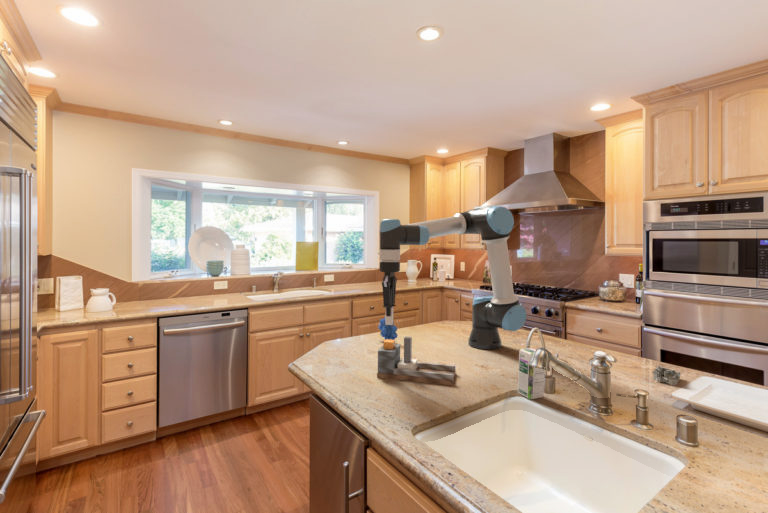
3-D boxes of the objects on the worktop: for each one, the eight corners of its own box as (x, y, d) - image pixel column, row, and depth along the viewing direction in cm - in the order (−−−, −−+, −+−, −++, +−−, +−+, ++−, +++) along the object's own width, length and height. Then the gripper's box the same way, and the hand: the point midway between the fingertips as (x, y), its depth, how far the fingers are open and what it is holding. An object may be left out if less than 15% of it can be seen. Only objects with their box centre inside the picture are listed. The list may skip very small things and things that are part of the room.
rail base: (455, 373, 140) (455, 348, 140) (452, 385, 129) (452, 358, 128) (385, 366, 148) (385, 342, 147) (376, 377, 136) (377, 351, 136)
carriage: (417, 367, 142) (417, 335, 141) (413, 373, 135) (414, 340, 134) (401, 365, 143) (402, 334, 143) (397, 372, 137) (397, 339, 136)
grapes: (372, 341, 184) (373, 316, 184) (382, 338, 189) (382, 314, 189) (391, 345, 176) (391, 320, 176) (400, 342, 182) (400, 318, 181)
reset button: (395, 347, 142) (395, 340, 142) (392, 350, 139) (392, 342, 138) (386, 347, 143) (386, 339, 143) (383, 349, 139) (383, 341, 139)
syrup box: (517, 393, 123) (518, 349, 122) (531, 390, 125) (532, 347, 124) (530, 400, 117) (531, 354, 117) (544, 397, 120) (545, 352, 119)
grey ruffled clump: (675, 387, 129) (676, 376, 128) (650, 381, 134) (650, 370, 134) (682, 379, 136) (683, 369, 135) (658, 374, 141) (658, 363, 141)
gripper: (384, 259, 146) (384, 320, 148) (374, 261, 134) (374, 327, 135) (403, 260, 144) (403, 321, 146) (395, 262, 132) (394, 329, 133)
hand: (389, 324), depth 140 cm, fingers closed
